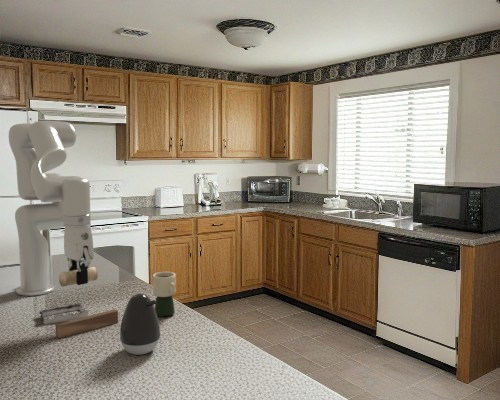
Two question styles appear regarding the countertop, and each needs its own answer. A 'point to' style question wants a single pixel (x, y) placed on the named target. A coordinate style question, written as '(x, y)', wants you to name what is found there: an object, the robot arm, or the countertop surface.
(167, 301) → the character mug
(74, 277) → the roller
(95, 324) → the stop rail
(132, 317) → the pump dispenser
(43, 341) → the countertop surface
